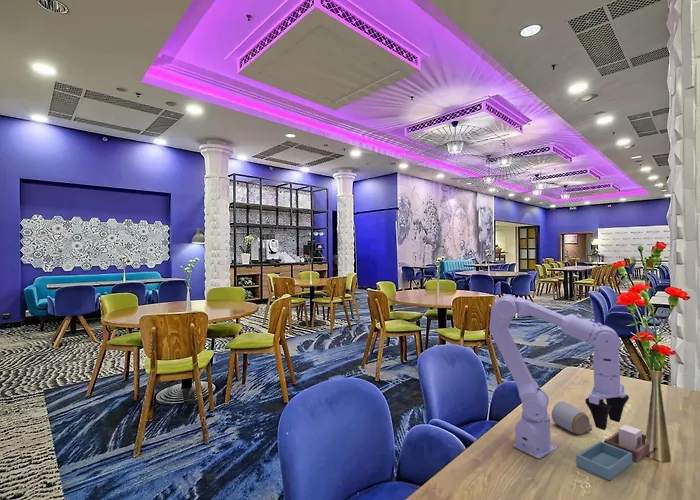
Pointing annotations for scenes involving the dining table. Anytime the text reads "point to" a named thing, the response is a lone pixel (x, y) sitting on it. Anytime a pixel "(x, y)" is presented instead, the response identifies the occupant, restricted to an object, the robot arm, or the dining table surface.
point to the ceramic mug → (570, 418)
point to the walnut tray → (636, 455)
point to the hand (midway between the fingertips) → (607, 424)
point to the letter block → (630, 437)
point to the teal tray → (603, 460)
